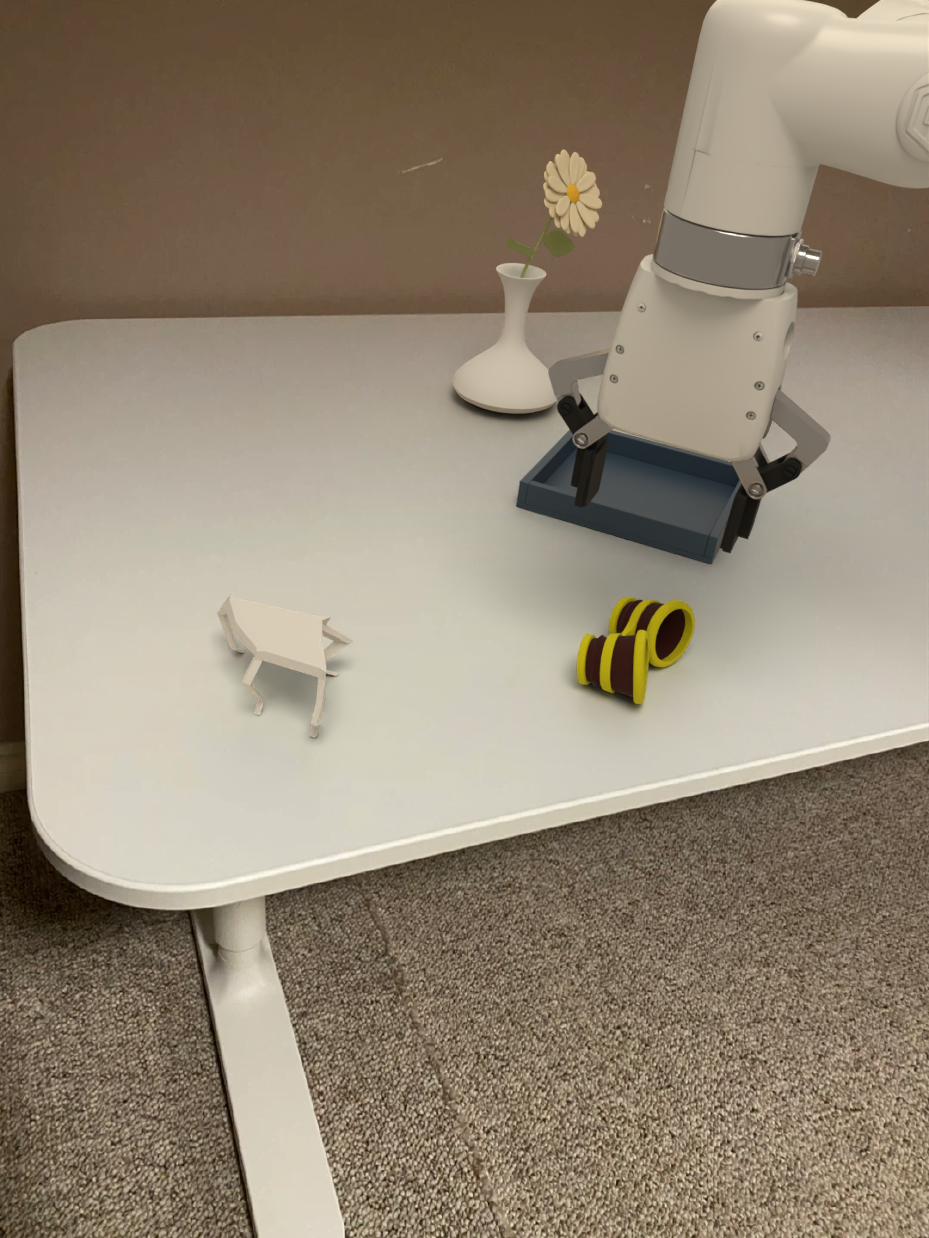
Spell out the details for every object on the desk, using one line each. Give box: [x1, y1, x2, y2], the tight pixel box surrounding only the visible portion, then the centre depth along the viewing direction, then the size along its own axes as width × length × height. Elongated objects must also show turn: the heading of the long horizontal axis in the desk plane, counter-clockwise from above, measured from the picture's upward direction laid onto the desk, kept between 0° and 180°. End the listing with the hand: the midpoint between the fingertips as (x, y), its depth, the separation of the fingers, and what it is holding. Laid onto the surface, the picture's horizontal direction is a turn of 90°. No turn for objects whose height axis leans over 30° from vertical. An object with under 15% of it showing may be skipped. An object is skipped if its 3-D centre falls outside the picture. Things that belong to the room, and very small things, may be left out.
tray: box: [515, 429, 742, 565], centre depth 98 cm, size 18×16×2 cm
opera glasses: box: [576, 595, 696, 705], centre depth 75 cm, size 10×5×5 cm, turn 148°
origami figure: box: [216, 593, 354, 739], centre depth 70 cm, size 12×8×5 cm
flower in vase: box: [451, 149, 603, 415], centre depth 108 cm, size 13×11×25 cm
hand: (656, 520), depth 70 cm, fingers open, 9 cm apart
